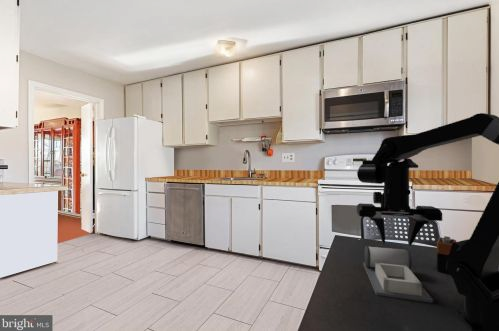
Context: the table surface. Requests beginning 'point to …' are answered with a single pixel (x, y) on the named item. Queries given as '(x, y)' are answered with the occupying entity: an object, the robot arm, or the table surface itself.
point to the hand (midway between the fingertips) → (396, 244)
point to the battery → (443, 253)
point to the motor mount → (393, 274)
